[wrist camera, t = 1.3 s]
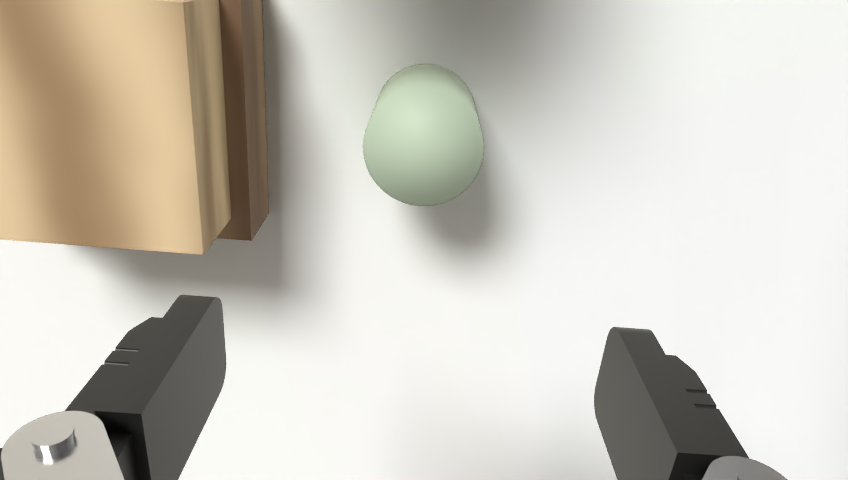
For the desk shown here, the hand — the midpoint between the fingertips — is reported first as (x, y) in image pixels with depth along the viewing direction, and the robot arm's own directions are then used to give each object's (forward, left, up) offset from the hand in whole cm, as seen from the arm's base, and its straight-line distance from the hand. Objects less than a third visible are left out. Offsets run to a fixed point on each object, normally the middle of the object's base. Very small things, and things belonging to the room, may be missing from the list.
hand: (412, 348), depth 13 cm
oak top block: (+14, 0, -17) cm, 22 cm away
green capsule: (0, 0, -20) cm, 20 cm away
